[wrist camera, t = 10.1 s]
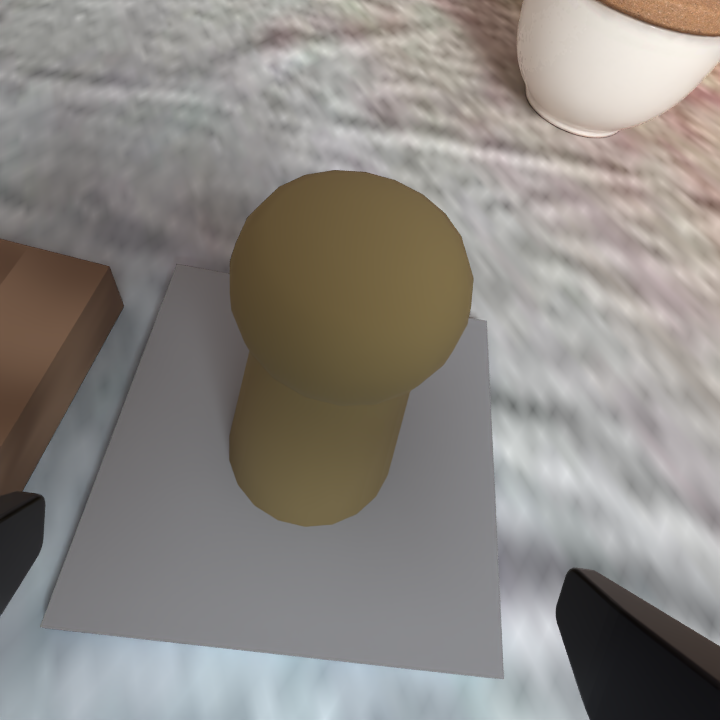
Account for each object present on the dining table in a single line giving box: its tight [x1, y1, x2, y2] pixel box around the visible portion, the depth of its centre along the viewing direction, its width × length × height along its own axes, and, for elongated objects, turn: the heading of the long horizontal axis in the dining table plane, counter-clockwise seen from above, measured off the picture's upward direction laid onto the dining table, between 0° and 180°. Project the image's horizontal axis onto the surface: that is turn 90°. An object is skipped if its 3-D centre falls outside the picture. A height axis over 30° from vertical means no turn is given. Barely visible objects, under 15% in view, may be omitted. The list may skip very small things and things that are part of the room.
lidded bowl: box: [517, 0, 720, 138], centre depth 31 cm, size 13×13×11 cm
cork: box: [229, 170, 474, 527], centre depth 14 cm, size 6×6×11 cm
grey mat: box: [40, 264, 504, 679], centre depth 19 cm, size 14×14×1 cm
